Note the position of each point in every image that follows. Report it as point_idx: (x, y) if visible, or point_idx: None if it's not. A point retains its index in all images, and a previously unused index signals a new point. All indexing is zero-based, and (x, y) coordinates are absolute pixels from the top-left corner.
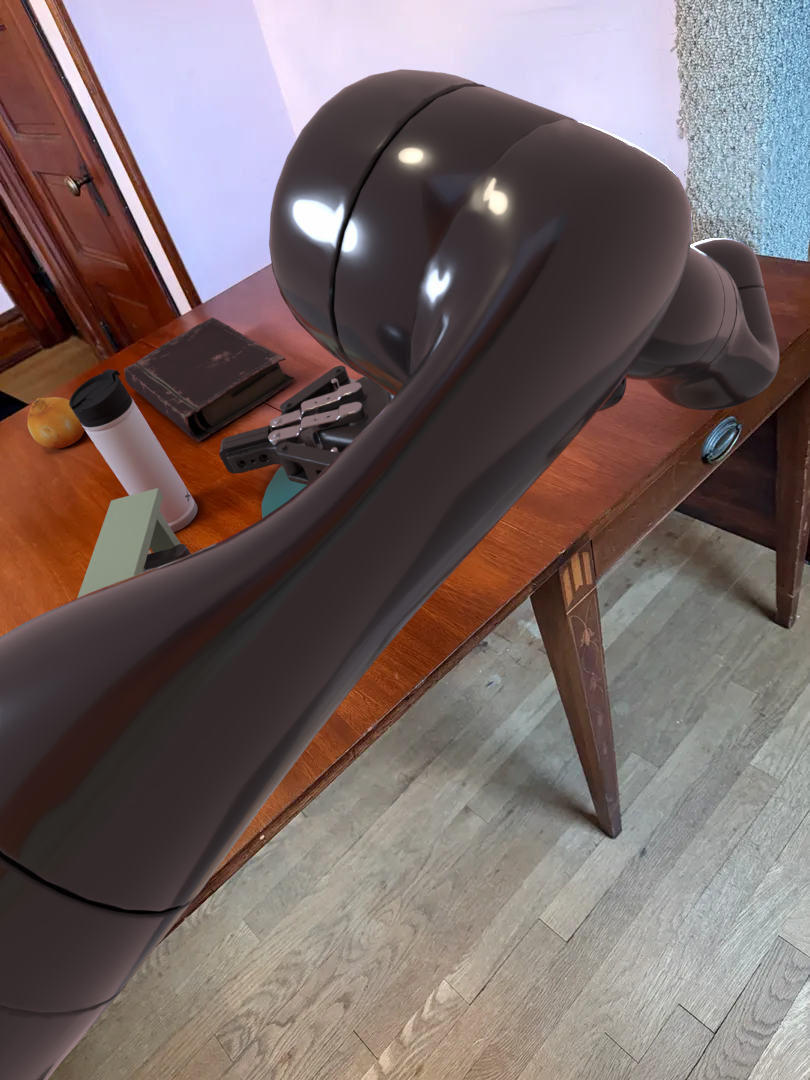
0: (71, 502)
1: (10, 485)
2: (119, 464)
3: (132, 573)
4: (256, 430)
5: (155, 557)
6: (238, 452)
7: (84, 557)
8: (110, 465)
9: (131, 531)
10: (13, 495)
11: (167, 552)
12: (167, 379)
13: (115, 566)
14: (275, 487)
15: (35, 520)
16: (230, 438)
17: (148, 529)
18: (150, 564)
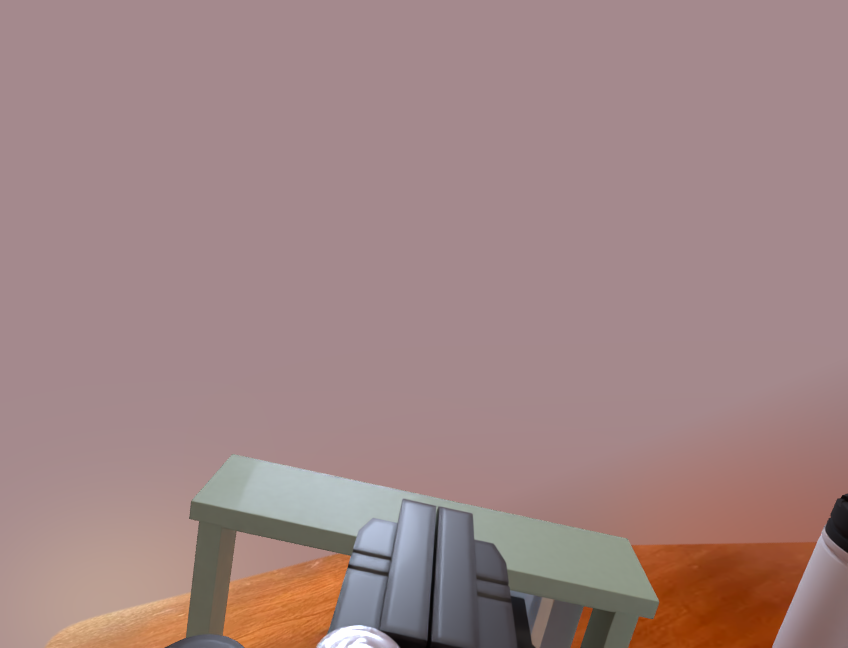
0: (781, 603)
1: (792, 544)
2: (798, 603)
3: None
4: (464, 601)
5: (513, 616)
6: (376, 546)
7: (677, 617)
8: (795, 593)
9: (537, 555)
10: (775, 546)
11: (520, 634)
12: None
13: None
14: None
15: (737, 566)
16: (459, 526)
17: (540, 580)
18: None
